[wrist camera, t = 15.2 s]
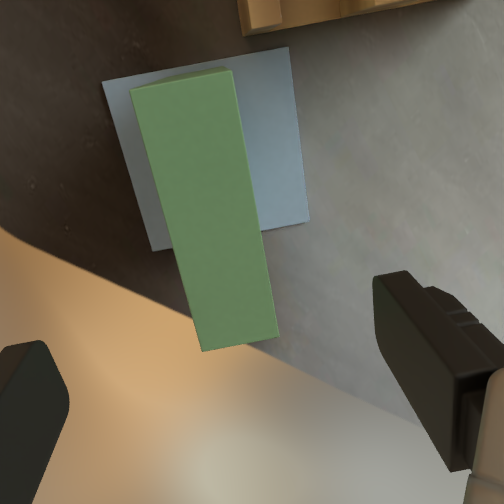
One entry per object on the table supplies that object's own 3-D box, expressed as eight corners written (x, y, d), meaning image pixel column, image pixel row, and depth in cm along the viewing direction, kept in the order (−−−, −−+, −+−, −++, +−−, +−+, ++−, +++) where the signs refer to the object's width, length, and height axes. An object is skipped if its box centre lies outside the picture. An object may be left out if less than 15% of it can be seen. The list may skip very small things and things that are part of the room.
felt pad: (153, 249, 32) (152, 251, 31) (102, 81, 27) (101, 81, 26) (308, 219, 32) (309, 221, 31) (287, 46, 27) (288, 46, 26)
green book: (206, 233, 31) (202, 352, 19) (169, 76, 27) (128, 89, 14) (253, 225, 31) (279, 337, 19) (223, 65, 27) (232, 69, 14)
